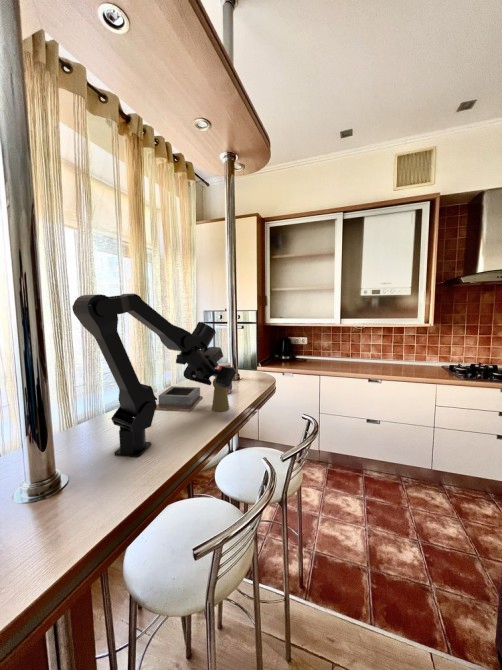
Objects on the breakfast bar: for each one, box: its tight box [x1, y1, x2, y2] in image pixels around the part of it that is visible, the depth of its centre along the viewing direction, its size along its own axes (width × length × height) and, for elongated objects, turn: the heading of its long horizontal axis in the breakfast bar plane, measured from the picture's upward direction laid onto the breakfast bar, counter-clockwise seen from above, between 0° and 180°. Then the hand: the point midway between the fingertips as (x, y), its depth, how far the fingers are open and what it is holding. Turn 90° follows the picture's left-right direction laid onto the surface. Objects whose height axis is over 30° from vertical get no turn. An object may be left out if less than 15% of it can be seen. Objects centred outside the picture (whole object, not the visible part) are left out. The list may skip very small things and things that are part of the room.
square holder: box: [155, 385, 203, 413], centre depth 103 cm, size 14×13×4 cm
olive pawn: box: [211, 377, 230, 413], centre depth 97 cm, size 6×6×11 cm
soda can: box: [214, 362, 233, 395], centre depth 116 cm, size 7×7×12 cm
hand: (220, 386), depth 97 cm, fingers open, 9 cm apart
